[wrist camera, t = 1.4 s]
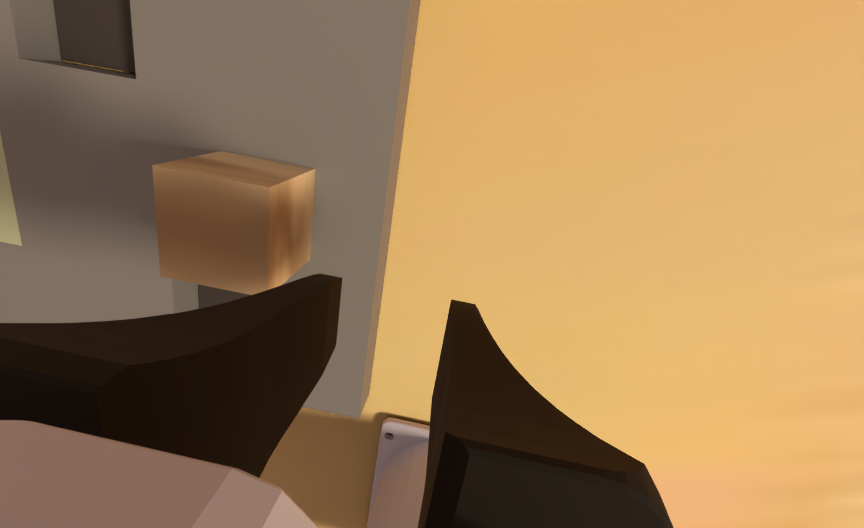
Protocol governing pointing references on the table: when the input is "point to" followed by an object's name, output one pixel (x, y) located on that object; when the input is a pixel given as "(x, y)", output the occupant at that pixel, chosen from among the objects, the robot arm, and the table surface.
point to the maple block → (233, 220)
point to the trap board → (196, 148)
